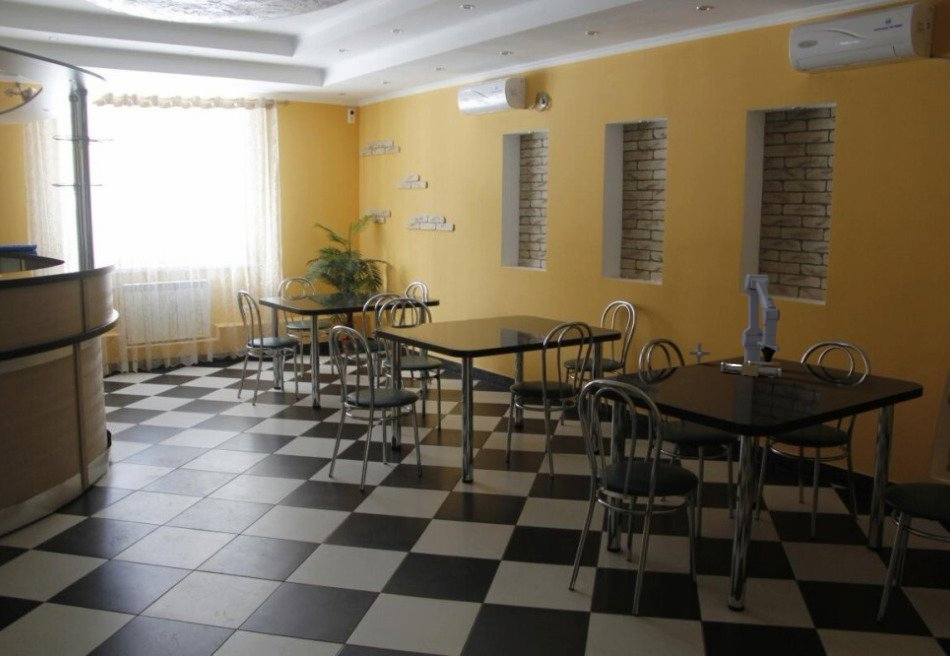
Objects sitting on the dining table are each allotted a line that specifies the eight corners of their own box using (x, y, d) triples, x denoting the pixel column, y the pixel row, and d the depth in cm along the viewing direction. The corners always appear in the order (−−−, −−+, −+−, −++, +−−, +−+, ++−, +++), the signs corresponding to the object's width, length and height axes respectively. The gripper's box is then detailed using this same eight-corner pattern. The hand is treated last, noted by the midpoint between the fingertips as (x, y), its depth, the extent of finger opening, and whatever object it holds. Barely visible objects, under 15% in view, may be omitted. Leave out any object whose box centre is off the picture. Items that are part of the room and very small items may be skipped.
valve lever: (748, 364, 386) (748, 361, 386) (747, 363, 389) (747, 360, 389) (779, 365, 384) (780, 362, 384) (778, 364, 387) (779, 361, 386)
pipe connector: (711, 365, 409) (712, 344, 408) (690, 365, 409) (691, 344, 408) (706, 361, 419) (707, 341, 418) (685, 361, 419) (686, 341, 418)
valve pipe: (722, 370, 397) (723, 360, 396) (781, 376, 385) (782, 365, 384) (719, 372, 391) (720, 362, 390) (779, 379, 379) (780, 368, 379)
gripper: (752, 332, 392) (750, 361, 394) (771, 337, 378) (769, 367, 380) (765, 331, 393) (763, 360, 395) (785, 336, 380) (783, 366, 382)
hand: (767, 364), depth 388 cm, fingers closed
